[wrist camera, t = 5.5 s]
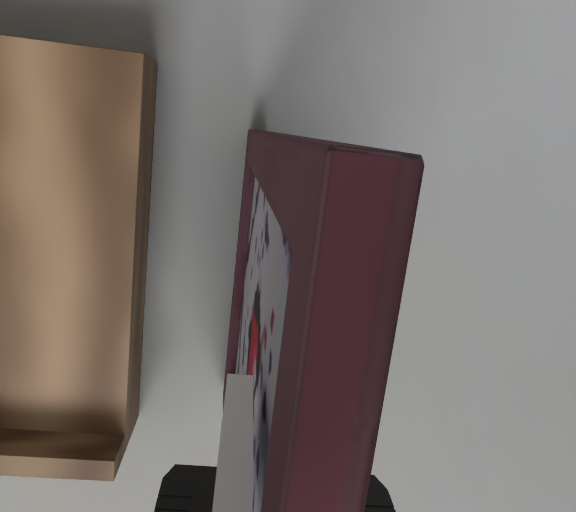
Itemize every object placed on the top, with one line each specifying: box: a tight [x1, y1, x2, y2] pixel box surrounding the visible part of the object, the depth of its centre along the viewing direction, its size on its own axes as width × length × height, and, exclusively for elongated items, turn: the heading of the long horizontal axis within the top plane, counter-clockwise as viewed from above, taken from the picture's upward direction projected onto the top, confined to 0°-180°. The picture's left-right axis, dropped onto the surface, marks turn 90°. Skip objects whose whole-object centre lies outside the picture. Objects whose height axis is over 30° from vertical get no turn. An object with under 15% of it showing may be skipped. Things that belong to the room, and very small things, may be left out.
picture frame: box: [223, 129, 424, 512], centre depth 20 cm, size 17×10×25 cm, turn 173°
